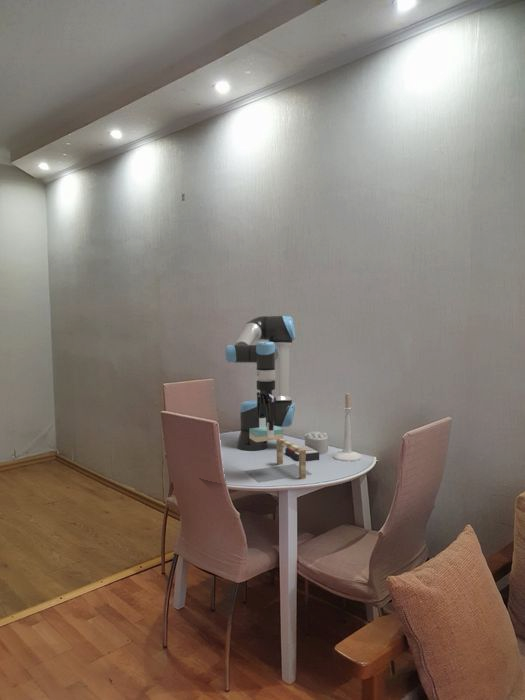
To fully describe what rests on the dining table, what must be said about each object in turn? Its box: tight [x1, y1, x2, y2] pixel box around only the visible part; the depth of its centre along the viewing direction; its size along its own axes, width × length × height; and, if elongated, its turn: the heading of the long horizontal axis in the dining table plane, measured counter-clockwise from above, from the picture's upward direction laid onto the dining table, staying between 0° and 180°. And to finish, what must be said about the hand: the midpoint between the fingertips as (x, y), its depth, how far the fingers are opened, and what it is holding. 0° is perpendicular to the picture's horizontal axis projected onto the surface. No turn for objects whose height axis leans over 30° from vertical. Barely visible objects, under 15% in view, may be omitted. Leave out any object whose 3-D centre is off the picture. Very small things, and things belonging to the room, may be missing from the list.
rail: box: [276, 438, 307, 480], centre depth 219 cm, size 23×2×12 cm, turn 24°
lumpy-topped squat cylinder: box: [304, 431, 329, 455], centre depth 252 cm, size 10×13×9 cm
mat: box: [243, 463, 313, 483], centre depth 217 cm, size 16×24×1 cm, turn 114°
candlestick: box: [332, 392, 363, 462], centre depth 239 cm, size 13×13×30 cm
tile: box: [249, 426, 284, 442], centre depth 214 cm, size 7×12×4 cm, turn 114°
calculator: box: [284, 445, 320, 462], centre depth 242 cm, size 11×4×15 cm
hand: (266, 435), depth 214 cm, fingers closed on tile, 7 cm apart
